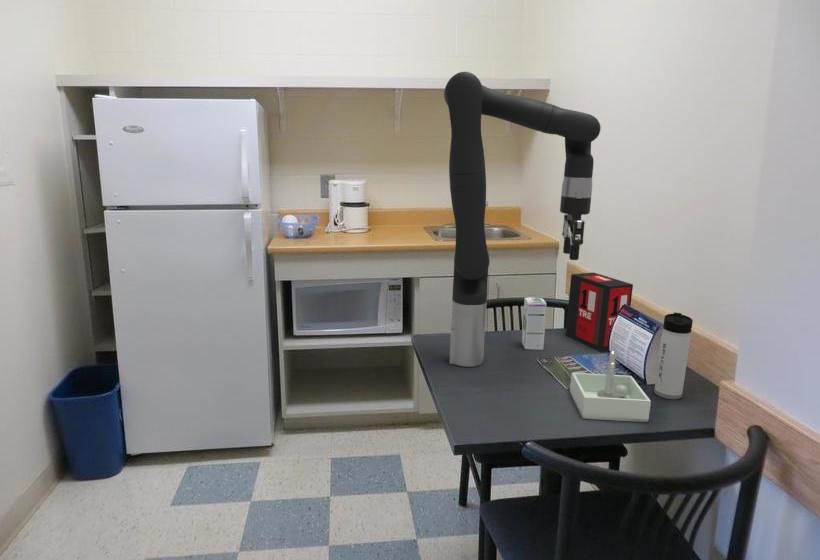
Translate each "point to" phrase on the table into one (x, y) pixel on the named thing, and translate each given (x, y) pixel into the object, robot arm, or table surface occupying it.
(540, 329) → the syrup box
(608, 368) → the screw
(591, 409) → the tub
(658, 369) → the travel mug
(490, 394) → the table surface
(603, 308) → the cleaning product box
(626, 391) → the pebble
